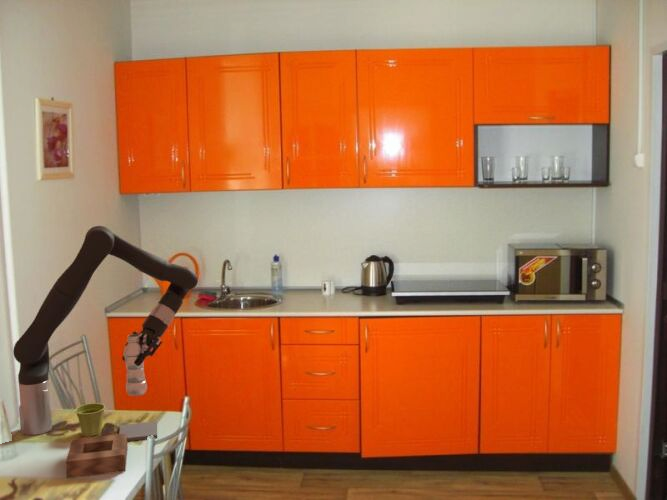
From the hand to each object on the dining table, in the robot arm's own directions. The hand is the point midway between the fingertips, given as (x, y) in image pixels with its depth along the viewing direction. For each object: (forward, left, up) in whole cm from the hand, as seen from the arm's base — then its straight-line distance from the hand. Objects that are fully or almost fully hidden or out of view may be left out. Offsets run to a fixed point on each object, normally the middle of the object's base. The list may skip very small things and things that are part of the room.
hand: (130, 362), depth 219 cm
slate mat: (+1, +1, -24) cm, 24 cm away
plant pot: (-14, +5, -25) cm, 29 cm away
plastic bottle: (+1, +1, -12) cm, 12 cm away
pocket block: (-10, -19, -24) cm, 32 cm away
